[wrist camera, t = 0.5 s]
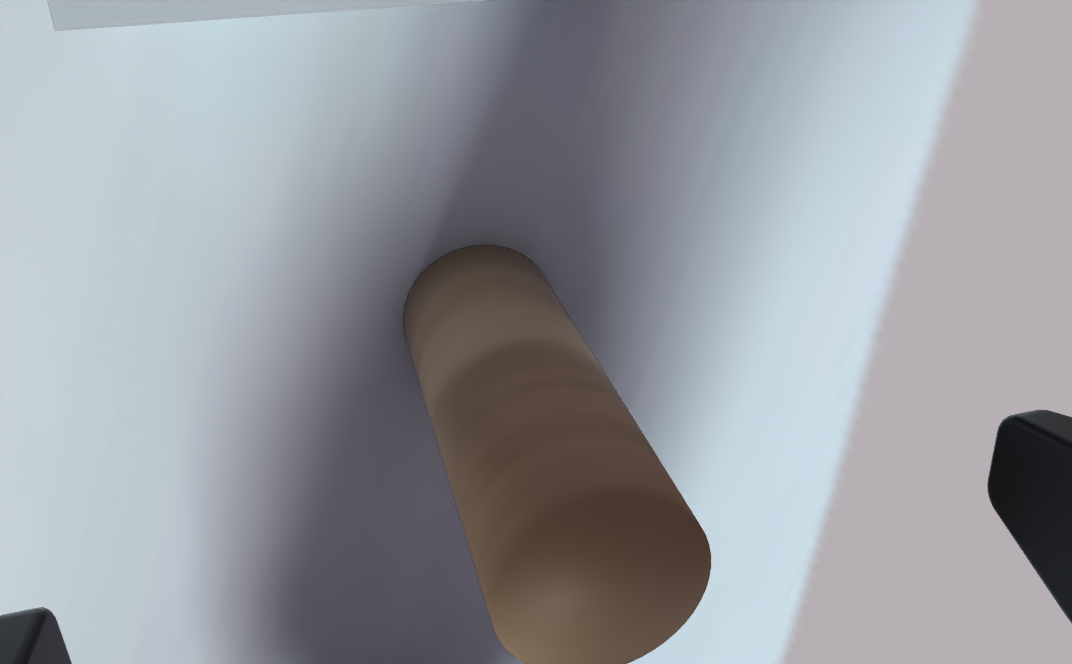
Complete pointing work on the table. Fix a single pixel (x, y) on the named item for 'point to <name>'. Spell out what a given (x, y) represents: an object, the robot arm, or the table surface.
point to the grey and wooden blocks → (197, 10)
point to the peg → (548, 469)
